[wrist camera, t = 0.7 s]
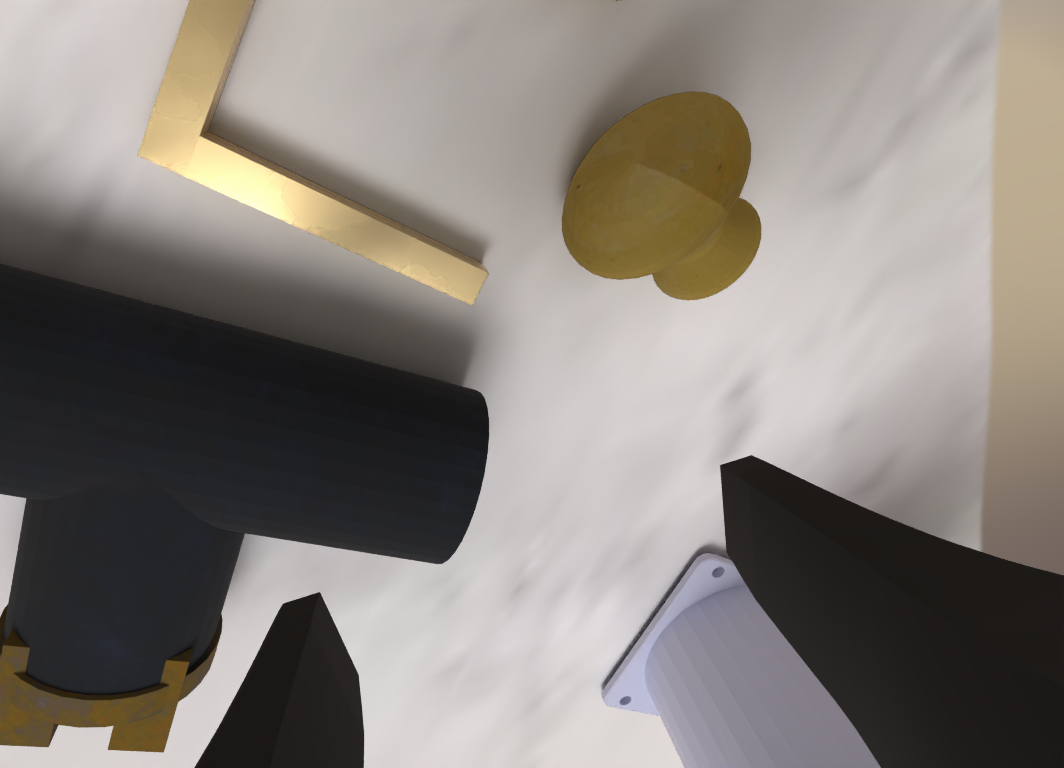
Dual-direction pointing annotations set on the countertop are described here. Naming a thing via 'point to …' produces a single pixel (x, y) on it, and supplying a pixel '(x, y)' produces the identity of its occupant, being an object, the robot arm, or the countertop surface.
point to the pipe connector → (190, 490)
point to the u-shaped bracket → (264, 185)
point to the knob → (666, 198)
